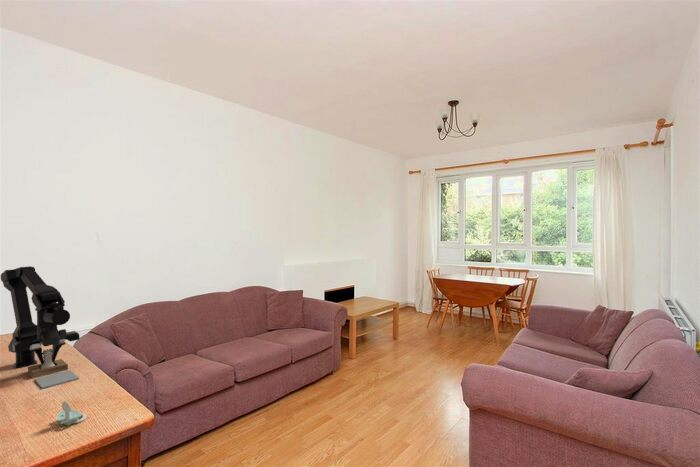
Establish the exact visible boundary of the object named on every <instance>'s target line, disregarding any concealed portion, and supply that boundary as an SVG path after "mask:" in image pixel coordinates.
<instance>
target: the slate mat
mask: <svg viewBox="0 0 700 467" xmlns="http://www.w3.org/2000/svg"><path fill="white" fill-rule="evenodd" d="M77 380H80V377H79V376H78V375H77V374H75V373H74V372H73V371H72V370H71V369H68V370H64V371H60V372H56V373H52V374H48V375H44V376H40V377H36V378H34V381H35V382H36V384H37V385H38V386H39V387H40V389H41V390H44V389H49V388H52V387H54V386H55V387H56V386H58V385H62V384H66V383H69V382H73V381H74V382H75V381H77Z"/></svg>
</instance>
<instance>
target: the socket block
mask: <svg viewBox="0 0 700 467" xmlns="http://www.w3.org/2000/svg"><path fill="white" fill-rule="evenodd" d="M53 363H54V364H55V366H52V367H48V368H43V369H40V368H41V367H42V364H41V363H36V364H32V365H28V366H27V373H28V375H30V376H31V378H32V379H37V378H41V377H45V376H49V375H52V374H56V373H60V372H64V371H68V370H69V365H68V363H67V362H66V361H64V360H63V359H62V358H60V359H55V361H54V362H53Z"/></svg>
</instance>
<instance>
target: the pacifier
mask: <svg viewBox="0 0 700 467" xmlns="http://www.w3.org/2000/svg"><path fill="white" fill-rule="evenodd" d="M61 409H62V410H61V411H60V412H58V413H57V415H56V420H57V422H59V424H60V425H62V424H64V425H65V426H66V425H67V426H69V425H70V426H71V425H73V424H78V423H82V422H83V421H85V420H86V419H87V414H86V413H85V412H84V413H83V412H81V411H78V410H76V409H72V408H71V405H70V403H69V401H68V400H66V399H65V400H64V401H63V402H62V403H61ZM79 418H80V419H79Z"/></svg>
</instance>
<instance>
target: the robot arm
mask: <svg viewBox="0 0 700 467" xmlns="http://www.w3.org/2000/svg"><path fill="white" fill-rule="evenodd" d="M0 280H1V281H0V282H2V285H3V287H4V288H5V289H6V290H7V291H9V292H10V296H11V301H12V308H13V314H14V317H15V324H16V327H15V329H14V330H13V333H12V338H11V341H9V344H8V347H7V348H8V352H10V353H12V354H13V353H15V362H14V363H13V364H12V365H13V366H14V368H15V369H17V368H22V367H28V366H33V365H37V364H39V363H38V362H40V364H42V365H43V363H44V358H43V356H44V355H43V354H42V353H43V348H42V347H41V346H43V347H49V346H52V347H51V349H52V351H53V353H52V355H53V356H52V361H53V362H54V361H55V360H57V359H56V358H57V356H58V353H59V351H60V349H61V348H62V347H63V346H64V345H66V344H67V343H66V342H65V341H66V340H67V341H69V342H74V341H79V340H80V333H79V332H77V331H76V330H72V331H68V332H67V330H66V329H64V328H63V329H58V326H62V325H65V324H66V323H68V322H69V321H70V318H71V314H70V312H69V311H68V310H66V309H64V308H65V306H66V305H65V299H64V297H63V296H62V294H61V292H60V291H59V290H58V289H57V288H55V286H52V285H49V284H47V283H46V282H45V281H44V280H43V279H42V278H41V276H40V275H39V274H38V273H37V272H36V268H35V267H34V266H29V265H28V266H20V267H17V268H15V269H14V268H13V269H6V270H4V271H3V272H1V273H0ZM27 288H28V289H29V291H30V292H31V293H32V295H31V298H30V299H31V302H32V304H33V305H34V306H35V308H34V311H36V323H35V322H33V318H32V311H31V306H30V301H29V295H28V291H27ZM36 356H37V358H38V360H39V361H38V360H37V359H36Z"/></svg>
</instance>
